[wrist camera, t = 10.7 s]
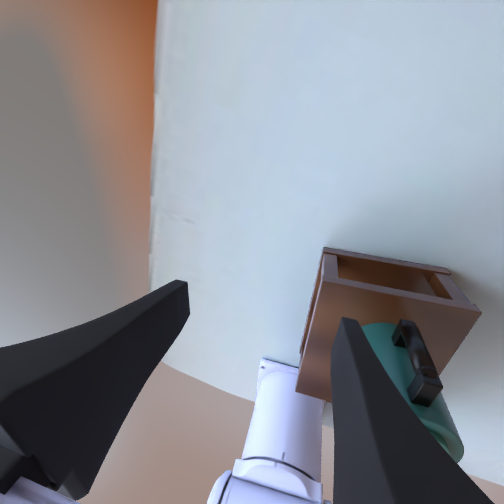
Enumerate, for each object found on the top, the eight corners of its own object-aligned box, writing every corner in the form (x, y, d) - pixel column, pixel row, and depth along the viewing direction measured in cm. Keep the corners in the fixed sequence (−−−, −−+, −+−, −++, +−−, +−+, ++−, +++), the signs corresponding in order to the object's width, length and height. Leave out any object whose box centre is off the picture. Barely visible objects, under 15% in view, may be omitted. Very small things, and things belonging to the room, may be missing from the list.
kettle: (395, 396, 19) (428, 527, 13) (333, 379, 20) (336, 494, 14) (445, 311, 15) (529, 445, 9) (363, 294, 16) (387, 405, 9)
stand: (392, 371, 24) (406, 424, 20) (300, 347, 26) (294, 392, 22) (446, 268, 18) (482, 312, 14) (323, 246, 20) (322, 280, 16)
